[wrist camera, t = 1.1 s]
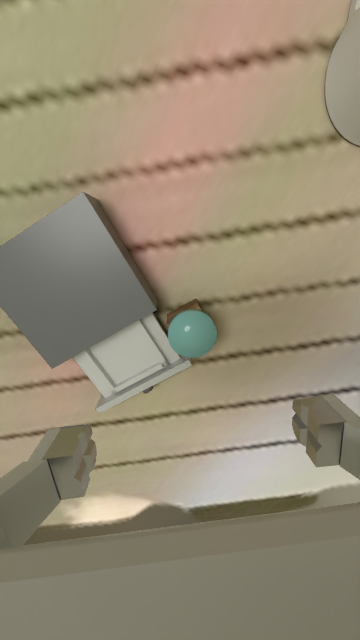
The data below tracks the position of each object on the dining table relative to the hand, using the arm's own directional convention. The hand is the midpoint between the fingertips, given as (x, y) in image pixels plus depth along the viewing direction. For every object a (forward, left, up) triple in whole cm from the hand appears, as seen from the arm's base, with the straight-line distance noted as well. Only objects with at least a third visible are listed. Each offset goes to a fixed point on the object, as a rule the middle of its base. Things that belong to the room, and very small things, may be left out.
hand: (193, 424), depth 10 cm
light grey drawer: (+12, +3, -28) cm, 31 cm away
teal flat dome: (+1, +5, -24) cm, 24 cm away
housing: (+12, -8, -29) cm, 32 cm away
